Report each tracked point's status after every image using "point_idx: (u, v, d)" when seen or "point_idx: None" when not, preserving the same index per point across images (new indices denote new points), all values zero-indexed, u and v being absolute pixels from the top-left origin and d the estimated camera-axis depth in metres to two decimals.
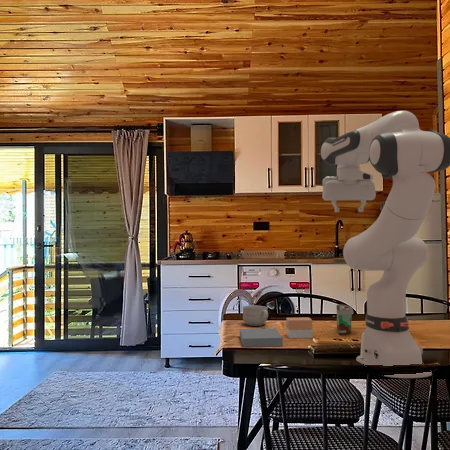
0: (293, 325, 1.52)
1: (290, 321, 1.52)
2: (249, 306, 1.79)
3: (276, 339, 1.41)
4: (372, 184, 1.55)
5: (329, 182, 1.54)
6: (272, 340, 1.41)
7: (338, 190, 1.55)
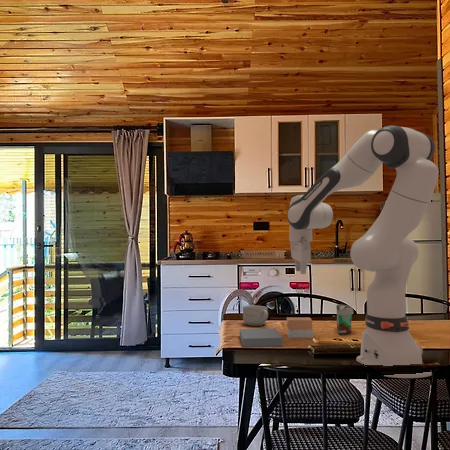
0: (293, 325, 1.53)
1: (290, 321, 1.53)
2: (249, 306, 1.79)
3: (276, 339, 1.41)
4: None
5: (309, 244, 1.48)
6: (272, 340, 1.41)
7: None
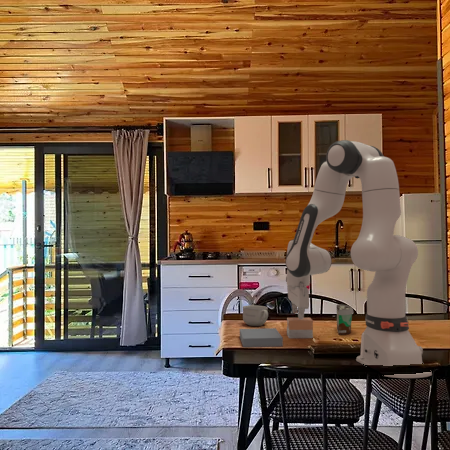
0: (293, 325, 1.52)
1: (290, 321, 1.52)
2: (249, 306, 1.79)
3: (276, 339, 1.41)
4: None
5: (307, 290, 1.48)
6: (272, 340, 1.41)
7: None
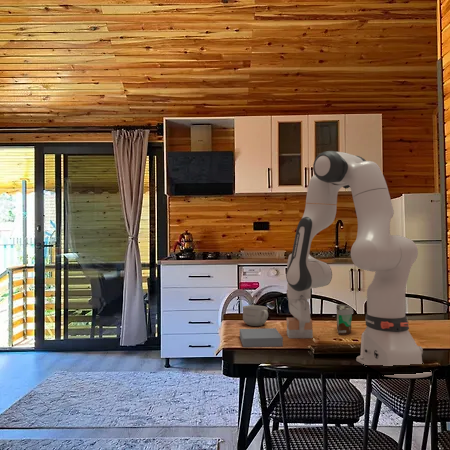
0: (293, 325, 1.52)
1: (290, 321, 1.52)
2: (249, 306, 1.79)
3: (276, 339, 1.41)
4: None
5: (308, 303, 1.47)
6: (272, 340, 1.41)
7: None
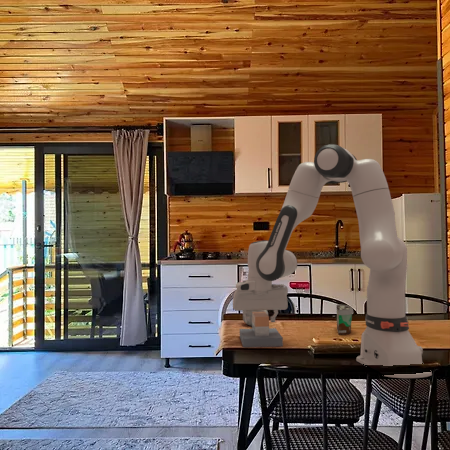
0: None
1: (268, 317, 1.44)
2: None
3: (276, 339, 1.41)
4: None
5: None
6: (272, 340, 1.41)
7: None
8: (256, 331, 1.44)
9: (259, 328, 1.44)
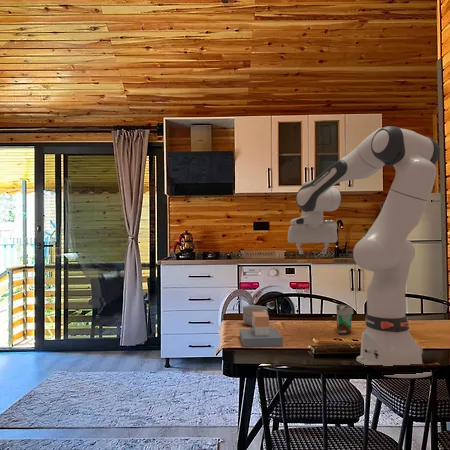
0: None
1: (268, 317, 1.44)
2: (249, 306, 1.79)
3: (276, 339, 1.41)
4: None
5: None
6: (272, 340, 1.41)
7: None
8: (256, 331, 1.44)
9: (259, 328, 1.44)
